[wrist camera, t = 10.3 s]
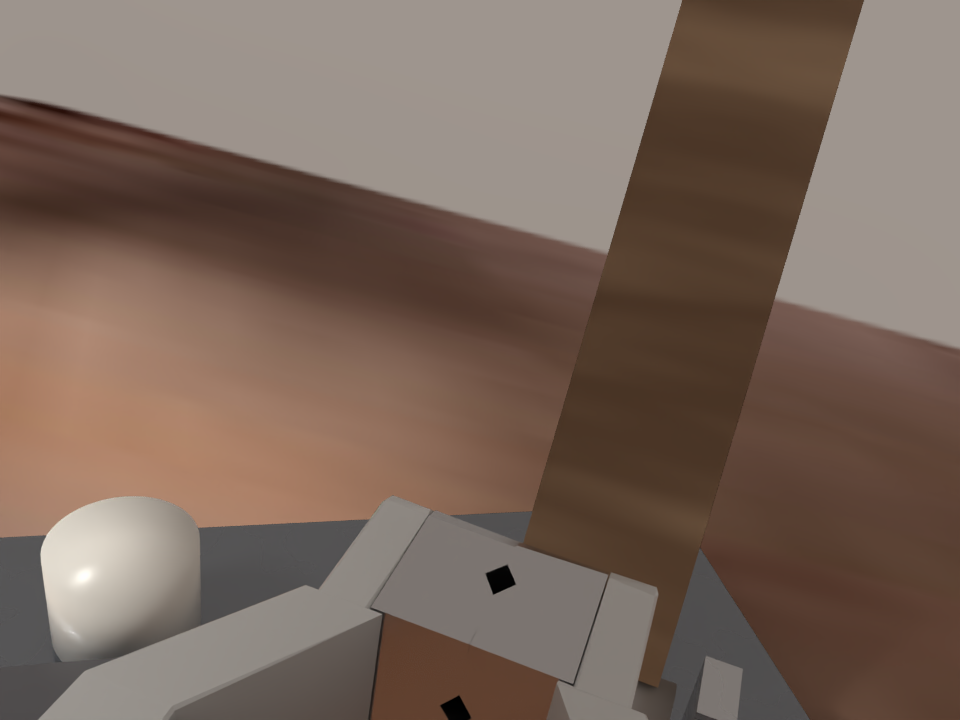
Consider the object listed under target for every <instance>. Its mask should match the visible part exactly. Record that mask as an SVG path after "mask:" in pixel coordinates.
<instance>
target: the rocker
mask: <svg viewBox="0 0 960 720" xmlns="http://www.w3.org/2000/svg"><path fill="white" fill-rule="evenodd" d="M117 658H119V657H115V658H104V659H92V660H80V661H68V662H57V663H45V664H33V665H21V666H10V667H0V720H38V719H39V718H40V717H41V716H42V715H43V714H44V713H45V712H46V711H47V710H48V709H49V708H50V707H51V706H52V705H53V703H54V702H55V701H56V700H57V699H58V698H59V697H60V696H61V695H62V694H63V693H64V692H65V691H66V690H67V689H68V688H69V687H70V686H71V685H72V684H73V683H74V682H75V680H76V679H77V678H78V677H79V676H80V675H81V674H82V673H83V672H84V671H86V670H88V669H91V668H93V667H96V666H99V665H101V664H104V663H106V662H109V661H111V660H114V659H117Z"/></svg>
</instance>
